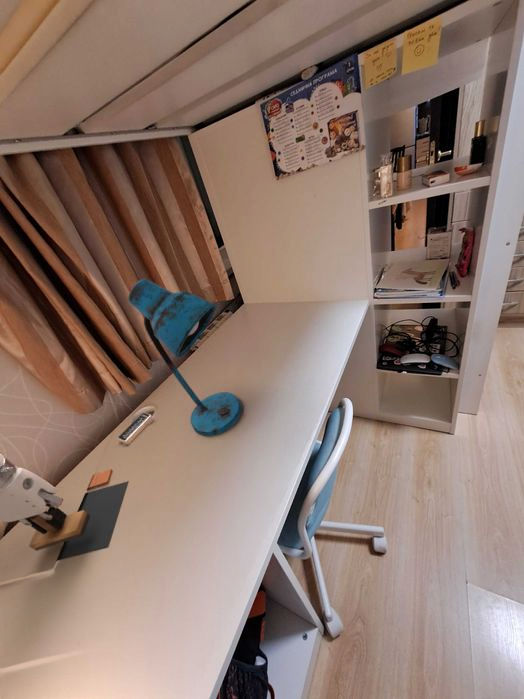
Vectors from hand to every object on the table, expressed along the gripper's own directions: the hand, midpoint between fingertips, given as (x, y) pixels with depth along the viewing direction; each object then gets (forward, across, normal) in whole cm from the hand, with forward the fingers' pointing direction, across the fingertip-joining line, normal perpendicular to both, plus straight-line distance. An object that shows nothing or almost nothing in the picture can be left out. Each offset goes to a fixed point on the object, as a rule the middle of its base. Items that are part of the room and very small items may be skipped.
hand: (55, 524), depth 64 cm
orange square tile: (+8, -1, -15) cm, 17 cm away
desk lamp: (+8, -36, -27) cm, 46 cm away
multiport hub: (+8, -7, -31) cm, 33 cm away
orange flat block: (+8, +3, -15) cm, 17 cm away
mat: (+8, 0, -4) cm, 9 cm away
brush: (+3, 0, 0) cm, 3 cm away
